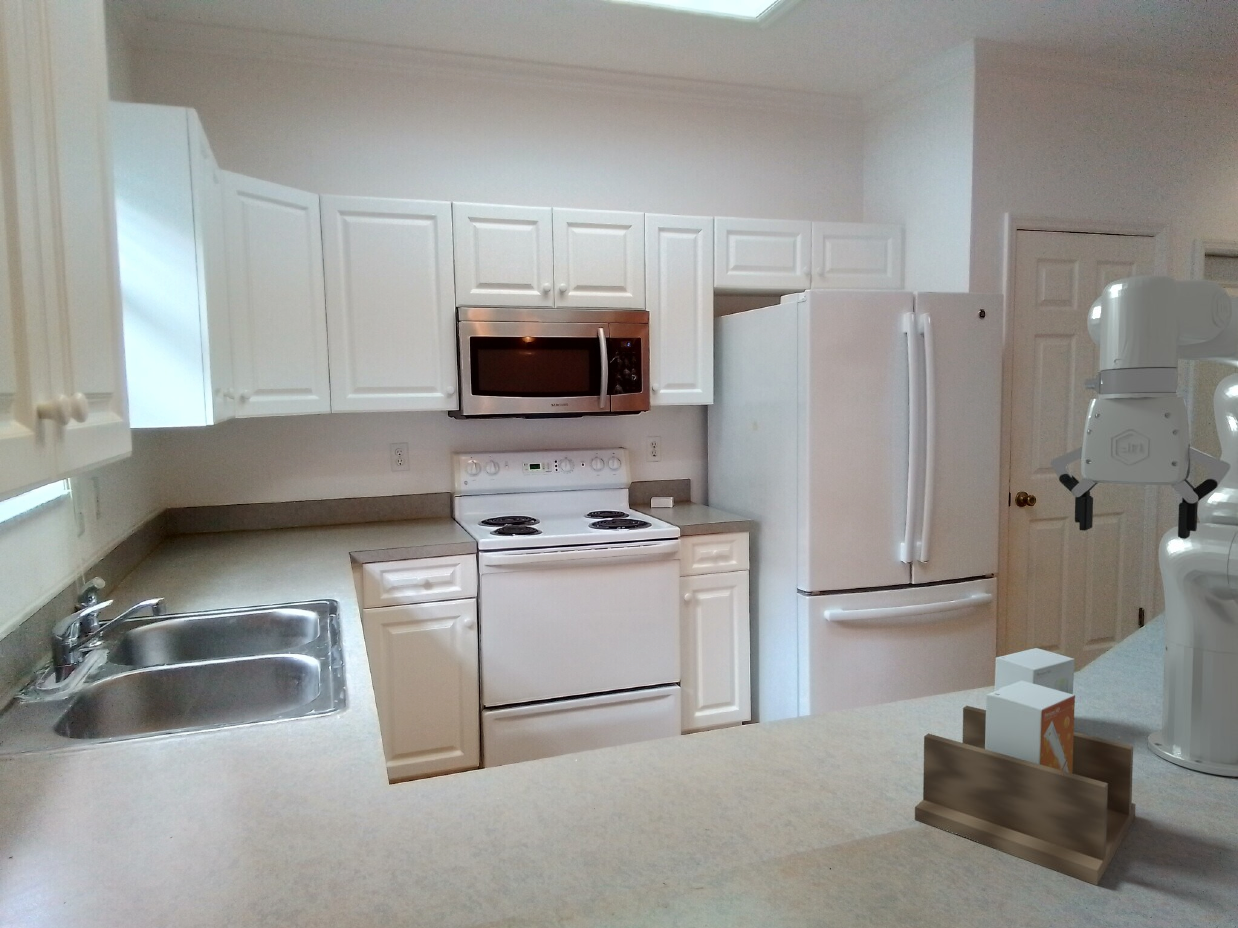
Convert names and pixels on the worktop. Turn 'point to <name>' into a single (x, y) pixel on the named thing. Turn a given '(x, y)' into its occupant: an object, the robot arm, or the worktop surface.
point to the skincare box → (1035, 670)
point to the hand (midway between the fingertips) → (1133, 533)
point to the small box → (1031, 724)
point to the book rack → (1031, 799)
